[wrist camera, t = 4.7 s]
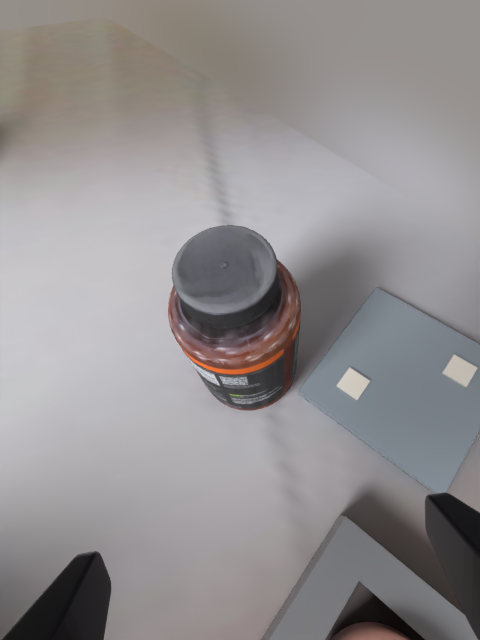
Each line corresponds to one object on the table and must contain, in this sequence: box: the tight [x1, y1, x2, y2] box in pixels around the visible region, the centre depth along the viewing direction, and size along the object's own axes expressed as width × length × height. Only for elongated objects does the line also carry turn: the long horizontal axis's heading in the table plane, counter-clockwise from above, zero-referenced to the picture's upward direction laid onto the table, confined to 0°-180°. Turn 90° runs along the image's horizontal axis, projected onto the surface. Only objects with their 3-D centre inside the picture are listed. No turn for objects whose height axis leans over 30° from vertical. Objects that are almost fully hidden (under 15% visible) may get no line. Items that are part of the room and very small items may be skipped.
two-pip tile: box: [298, 287, 480, 494], centre depth 22 cm, size 9×9×1 cm
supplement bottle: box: [168, 225, 301, 410], centre depth 18 cm, size 6×6×11 cm
